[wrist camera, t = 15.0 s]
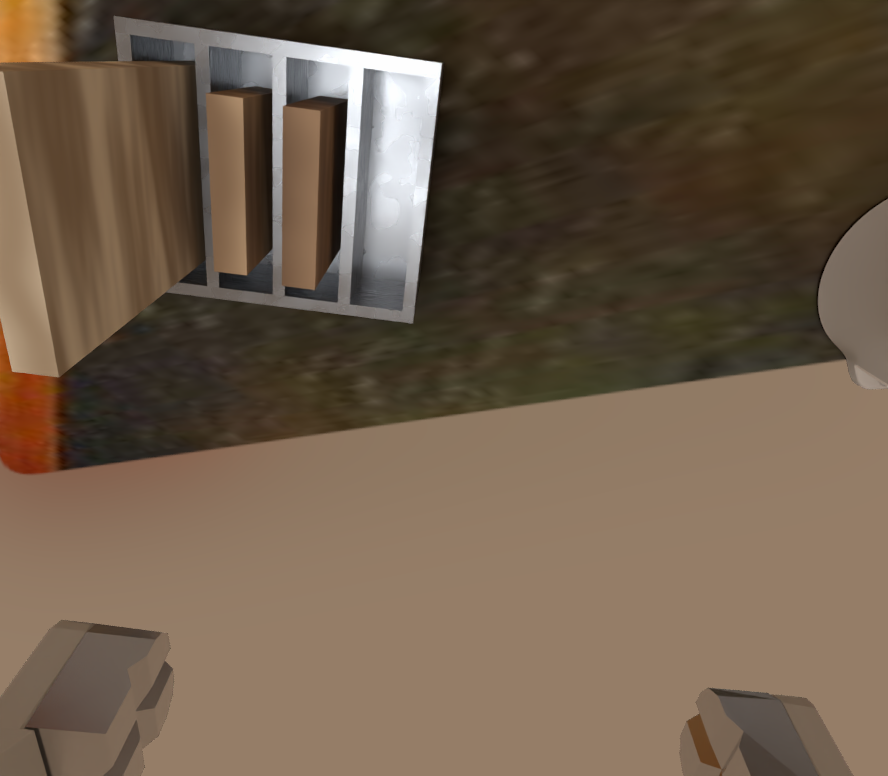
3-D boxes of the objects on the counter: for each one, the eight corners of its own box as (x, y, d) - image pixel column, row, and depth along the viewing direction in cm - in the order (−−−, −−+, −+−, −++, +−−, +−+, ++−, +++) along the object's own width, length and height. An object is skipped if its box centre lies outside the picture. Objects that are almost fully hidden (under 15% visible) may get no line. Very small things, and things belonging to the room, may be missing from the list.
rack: (444, 62, 42) (441, 63, 35) (419, 287, 50) (412, 323, 43) (169, 22, 41) (113, 15, 35) (185, 257, 49) (142, 289, 42)
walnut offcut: (349, 99, 42) (320, 111, 33) (342, 245, 47) (314, 290, 38) (320, 95, 42) (282, 105, 33) (315, 242, 46) (281, 285, 38)
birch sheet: (218, 64, 41) (3, 71, 22) (225, 243, 47) (59, 377, 27) (188, 60, 41) (-56, 63, 22) (198, 240, 47) (12, 371, 27)
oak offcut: (284, 90, 42) (242, 98, 34) (283, 238, 46) (246, 275, 38) (254, 86, 42) (205, 93, 34) (256, 234, 46) (214, 271, 38)
